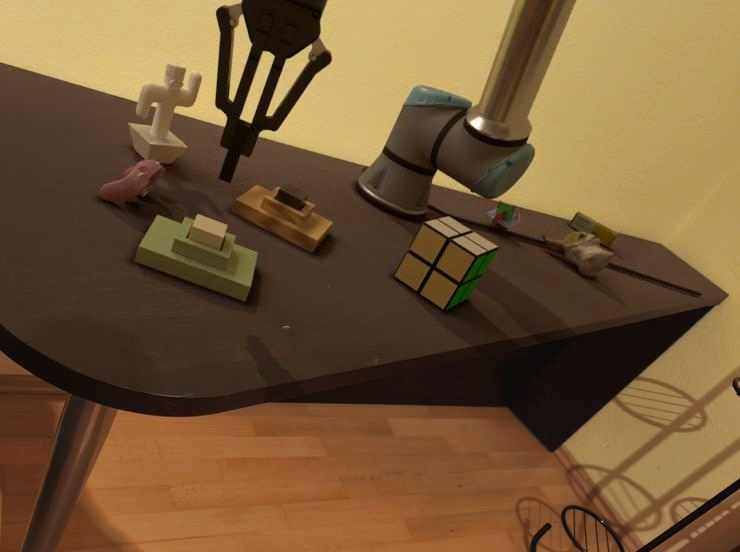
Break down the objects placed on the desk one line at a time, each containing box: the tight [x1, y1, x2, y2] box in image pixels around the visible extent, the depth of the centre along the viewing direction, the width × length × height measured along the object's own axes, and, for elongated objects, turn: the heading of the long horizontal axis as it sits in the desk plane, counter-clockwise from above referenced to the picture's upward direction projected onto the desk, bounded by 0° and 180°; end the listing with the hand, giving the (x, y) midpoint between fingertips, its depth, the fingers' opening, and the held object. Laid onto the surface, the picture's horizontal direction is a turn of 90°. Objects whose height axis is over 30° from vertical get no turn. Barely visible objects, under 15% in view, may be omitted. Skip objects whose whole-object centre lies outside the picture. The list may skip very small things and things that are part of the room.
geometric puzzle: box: [484, 200, 521, 236], centre depth 142 cm, size 7×7×8 cm
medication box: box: [568, 211, 619, 248], centre depth 172 cm, size 12×3×4 cm, turn 46°
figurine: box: [127, 61, 203, 165], centre depth 100 cm, size 7×9×15 cm
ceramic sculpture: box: [541, 230, 615, 278], centre depth 142 cm, size 11×9×15 cm
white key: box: [188, 213, 229, 250], centre depth 78 cm, size 4×4×2 cm
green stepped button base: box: [134, 214, 259, 302], centre depth 80 cm, size 14×10×4 cm
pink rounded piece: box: [98, 158, 166, 203], centre depth 88 cm, size 10×5×7 cm, turn 168°
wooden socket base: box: [231, 184, 334, 253], centre depth 100 cm, size 14×10×4 cm
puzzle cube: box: [393, 216, 500, 312], centre depth 100 cm, size 10×10×10 cm
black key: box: [275, 182, 310, 211], centre depth 99 cm, size 4×4×2 cm
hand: (225, 177), depth 74 cm, fingers closed
